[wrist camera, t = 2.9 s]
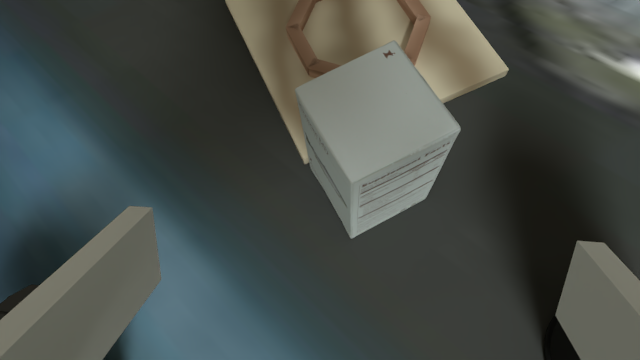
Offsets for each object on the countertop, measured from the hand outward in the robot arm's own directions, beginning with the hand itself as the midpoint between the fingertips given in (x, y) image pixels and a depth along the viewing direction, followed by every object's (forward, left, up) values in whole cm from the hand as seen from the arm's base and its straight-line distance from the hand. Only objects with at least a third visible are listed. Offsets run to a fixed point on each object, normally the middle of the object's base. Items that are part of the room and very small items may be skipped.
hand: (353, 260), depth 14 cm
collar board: (-12, -23, -21) cm, 33 cm away
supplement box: (-6, -9, -21) cm, 24 cm away
